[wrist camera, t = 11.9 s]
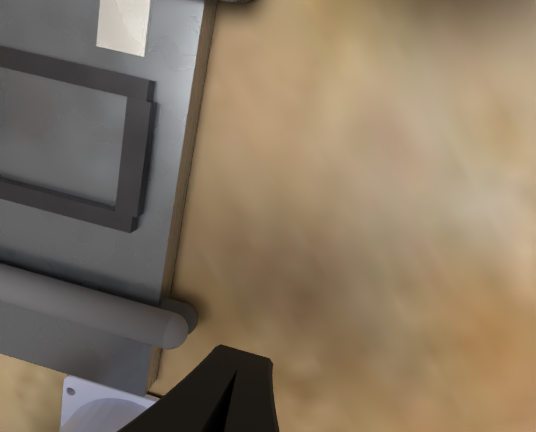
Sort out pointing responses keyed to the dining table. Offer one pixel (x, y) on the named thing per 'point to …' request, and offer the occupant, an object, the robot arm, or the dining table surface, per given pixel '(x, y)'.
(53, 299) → the dark grey bar
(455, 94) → the dining table surface
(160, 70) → the breaker panel
